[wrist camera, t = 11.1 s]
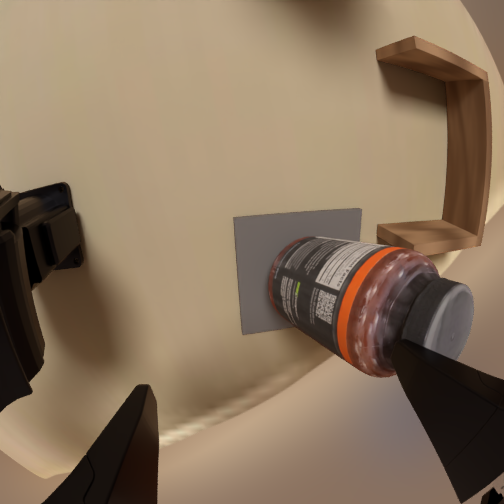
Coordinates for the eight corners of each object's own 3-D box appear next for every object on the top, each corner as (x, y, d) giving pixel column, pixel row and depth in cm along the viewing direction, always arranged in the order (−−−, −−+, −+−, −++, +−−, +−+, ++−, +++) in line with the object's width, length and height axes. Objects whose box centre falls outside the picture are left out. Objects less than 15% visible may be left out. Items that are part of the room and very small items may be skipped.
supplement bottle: (348, 295, 23) (479, 347, 11) (282, 336, 21) (404, 433, 9) (327, 220, 21) (483, 233, 9) (250, 258, 19) (398, 319, 8)
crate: (376, 235, 23) (412, 258, 18) (375, 49, 17) (414, 35, 12) (446, 228, 24) (480, 245, 19) (450, 75, 18) (487, 72, 13)
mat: (242, 331, 24) (242, 334, 23) (233, 217, 20) (234, 218, 20) (348, 313, 25) (350, 315, 25) (359, 208, 21) (361, 209, 21)
